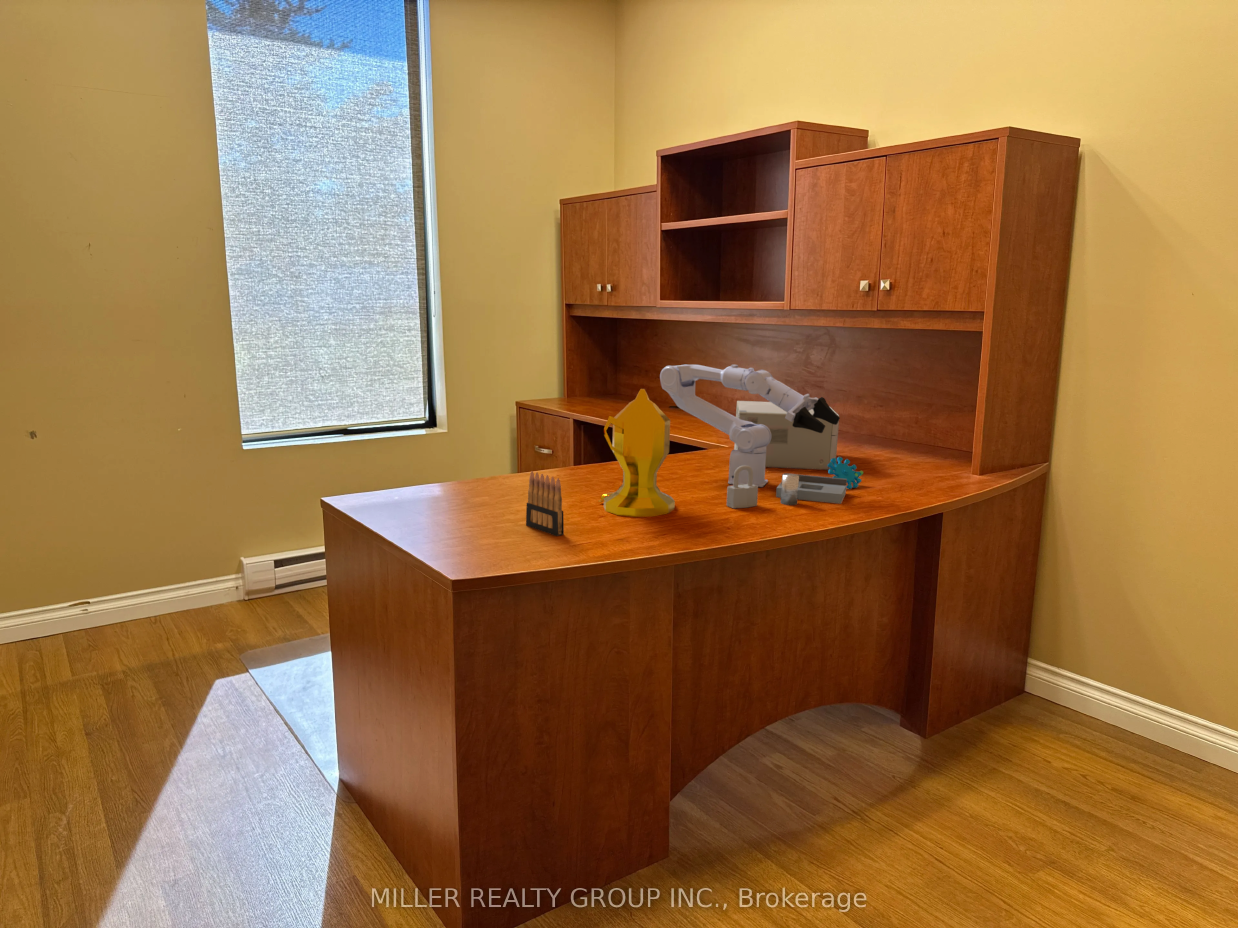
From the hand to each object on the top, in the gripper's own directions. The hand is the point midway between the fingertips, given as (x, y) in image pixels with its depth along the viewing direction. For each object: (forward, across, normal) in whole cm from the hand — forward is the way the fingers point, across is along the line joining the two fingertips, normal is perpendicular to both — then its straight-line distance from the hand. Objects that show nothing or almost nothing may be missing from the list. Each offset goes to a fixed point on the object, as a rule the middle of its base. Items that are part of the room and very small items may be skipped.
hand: (830, 425), depth 214 cm
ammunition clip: (-22, -76, +16) cm, 80 cm away
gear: (+7, +11, +20) cm, 23 cm away
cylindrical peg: (+4, -17, +15) cm, 23 cm away
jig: (+5, -5, +17) cm, 19 cm away
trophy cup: (-20, -47, +20) cm, 55 cm away
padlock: (-2, -28, +16) cm, 32 cm away
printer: (-20, +31, +36) cm, 52 cm away
